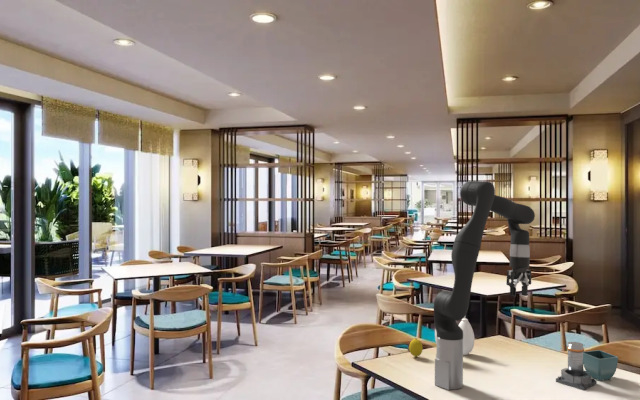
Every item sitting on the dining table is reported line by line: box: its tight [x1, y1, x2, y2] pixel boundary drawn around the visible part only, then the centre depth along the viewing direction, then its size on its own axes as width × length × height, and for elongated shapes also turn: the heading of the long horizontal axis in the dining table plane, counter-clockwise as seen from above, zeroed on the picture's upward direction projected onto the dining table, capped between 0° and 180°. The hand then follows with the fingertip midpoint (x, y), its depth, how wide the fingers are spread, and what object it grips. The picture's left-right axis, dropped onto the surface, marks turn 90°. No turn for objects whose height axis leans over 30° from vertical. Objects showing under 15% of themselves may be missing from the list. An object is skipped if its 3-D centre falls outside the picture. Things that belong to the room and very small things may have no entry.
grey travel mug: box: [566, 341, 585, 376], centre depth 178 cm, size 6×6×13 cm
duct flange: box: [555, 367, 598, 391], centre depth 178 cm, size 10×10×4 cm
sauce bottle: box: [458, 316, 475, 356], centre depth 210 cm, size 8×8×18 cm
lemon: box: [408, 338, 424, 358], centre depth 205 cm, size 6×6×8 cm
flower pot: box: [583, 349, 619, 382], centre depth 183 cm, size 9×9×9 cm
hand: (518, 295), depth 197 cm, fingers open, 8 cm apart
